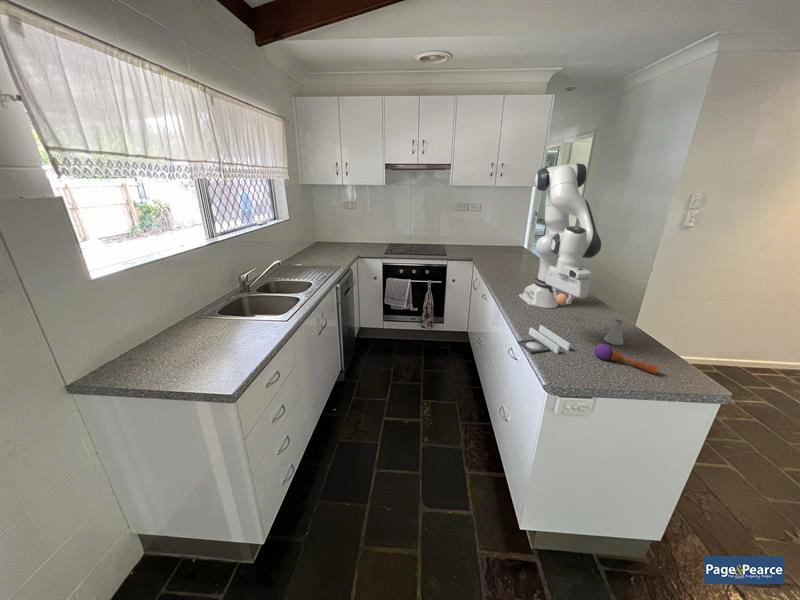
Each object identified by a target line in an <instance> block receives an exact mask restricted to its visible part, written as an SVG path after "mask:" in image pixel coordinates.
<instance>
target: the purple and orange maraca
mask: <svg viewBox="0 0 800 600" xmlns="http://www.w3.org/2000/svg"><path fill="white" fill-rule="evenodd" d="M594 355H595V356H596V357H597V358H598V359H601V360H609V359H610V360H611V361H624V362H625V363H628V364H629V365H632V366H635V367H637V368H639V369H641V370H643V371H645V372H647V373H649V374H650V375H653V376H656V374H657V372H658V370H659V366H657V365H654V364H649V363H646V362H642V361H640V360H639V361H638V360H634V359H631V358H627V357H624V356H623V355H621V354H620V353H619V351H617V350H614V351H613V349H612V347H611V346H610V345H608V344H605V343H600V344H598V345H596V346H595V348H594Z"/></svg>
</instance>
